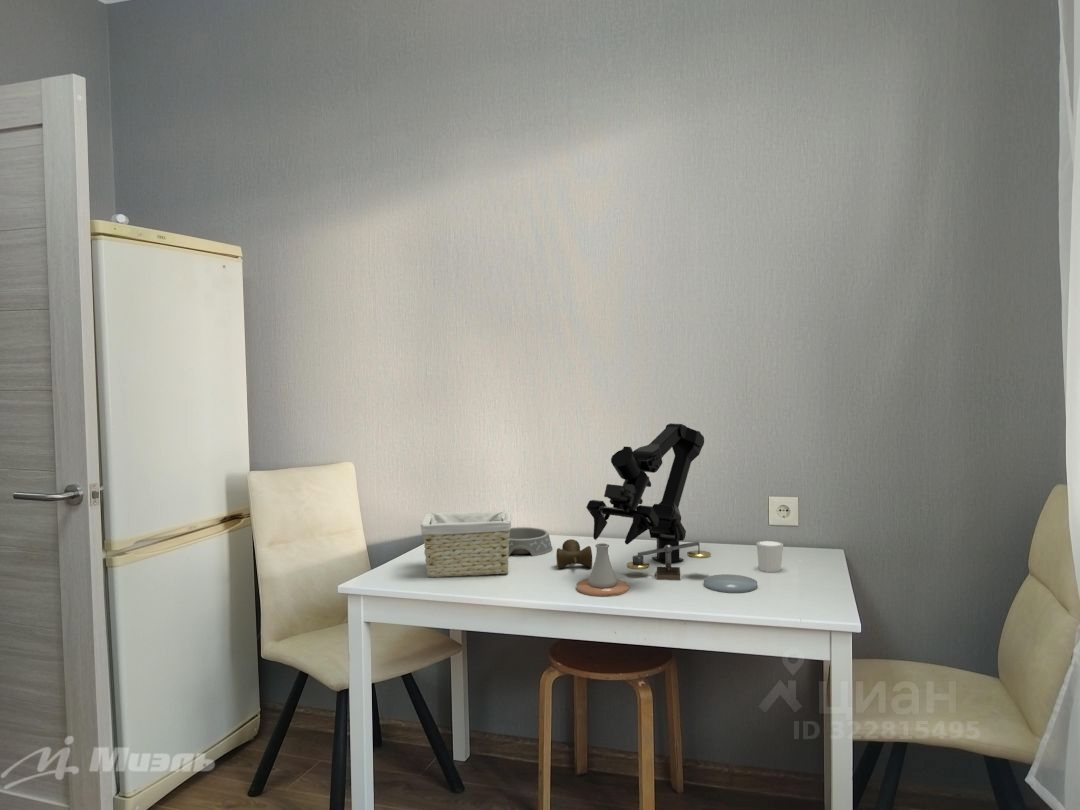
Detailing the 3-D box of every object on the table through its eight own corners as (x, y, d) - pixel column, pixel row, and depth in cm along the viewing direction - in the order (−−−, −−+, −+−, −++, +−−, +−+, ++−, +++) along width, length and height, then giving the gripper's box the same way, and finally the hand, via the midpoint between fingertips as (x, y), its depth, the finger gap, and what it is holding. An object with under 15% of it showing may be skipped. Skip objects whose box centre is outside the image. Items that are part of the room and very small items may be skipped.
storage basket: (420, 579, 215) (419, 523, 214) (425, 563, 231) (424, 511, 230) (512, 576, 216) (511, 521, 215) (511, 561, 232) (510, 509, 231)
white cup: (784, 573, 215) (784, 546, 215) (757, 572, 217) (757, 545, 216) (782, 566, 222) (782, 540, 222) (755, 565, 223) (755, 539, 223)
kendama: (588, 556, 238) (594, 573, 218) (554, 558, 238) (558, 575, 218) (587, 536, 238) (593, 550, 218) (553, 538, 238) (557, 552, 218)
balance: (625, 578, 212) (625, 543, 212) (627, 570, 220) (626, 536, 220) (711, 580, 209) (711, 545, 208) (710, 572, 217) (709, 538, 216)
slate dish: (693, 582, 208) (693, 578, 208) (733, 575, 213) (733, 571, 213) (726, 595, 196) (726, 591, 196) (768, 588, 202) (768, 584, 202)
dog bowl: (552, 557, 237) (552, 538, 236) (488, 558, 237) (488, 539, 237) (552, 543, 254) (552, 526, 254) (492, 544, 254) (492, 526, 254)
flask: (623, 584, 203) (623, 544, 202) (602, 590, 198) (602, 549, 198) (602, 579, 208) (602, 539, 208) (581, 584, 204) (581, 544, 203)
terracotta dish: (567, 585, 206) (567, 581, 206) (611, 578, 212) (611, 575, 212) (593, 599, 195) (593, 595, 195) (639, 591, 201) (639, 587, 200)
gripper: (589, 469, 214) (565, 518, 206) (652, 474, 203) (630, 527, 195) (606, 494, 221) (584, 543, 213) (668, 501, 210) (647, 552, 202)
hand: (610, 541), depth 206 cm, fingers open, 9 cm apart
